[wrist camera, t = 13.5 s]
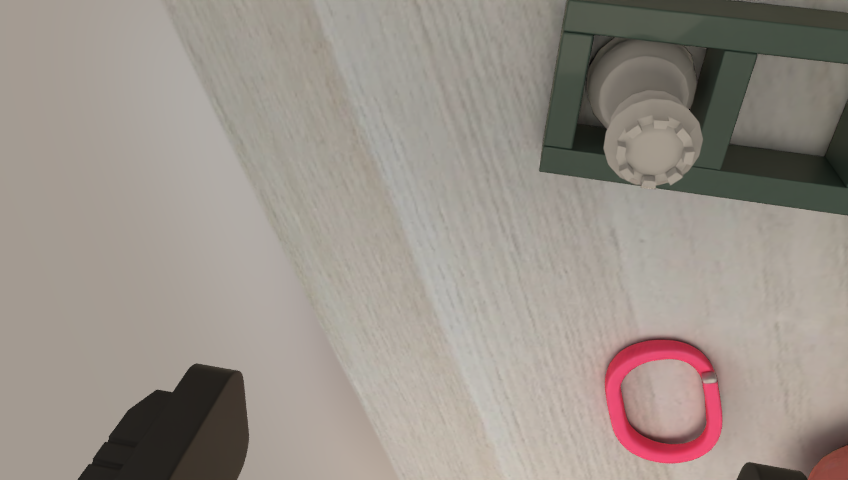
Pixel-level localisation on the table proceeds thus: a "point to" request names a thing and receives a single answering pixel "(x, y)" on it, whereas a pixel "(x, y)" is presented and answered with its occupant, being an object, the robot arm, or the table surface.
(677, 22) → the rack
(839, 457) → the apple
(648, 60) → the rook chess piece
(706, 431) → the fitness band
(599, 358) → the table surface
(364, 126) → the table surface
